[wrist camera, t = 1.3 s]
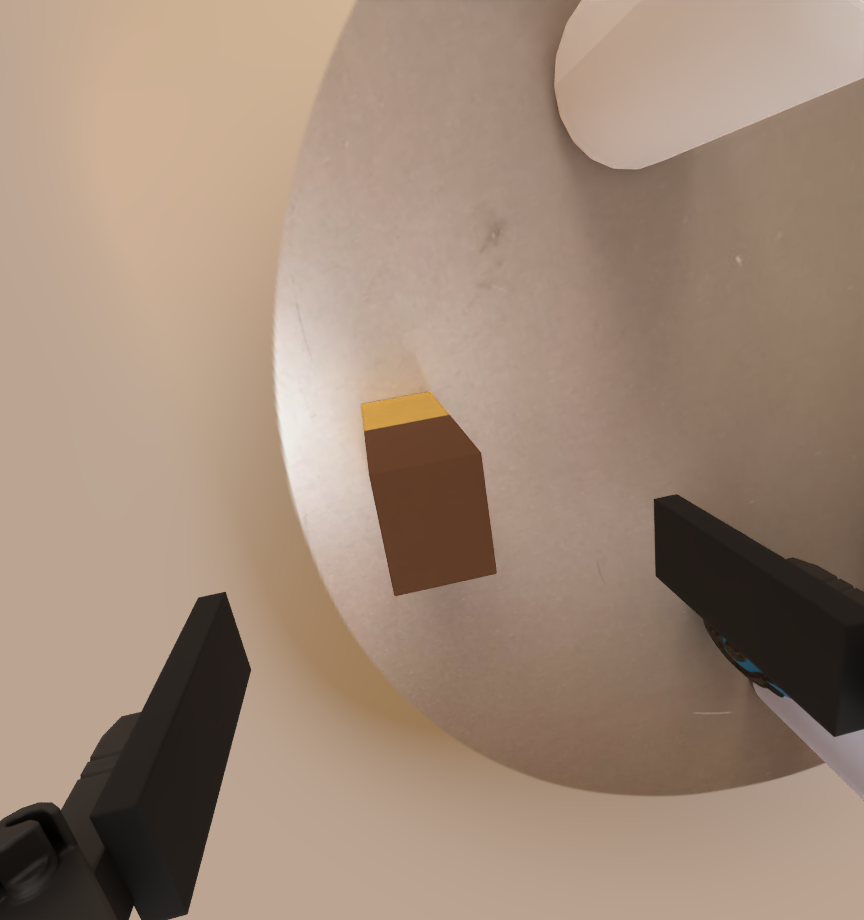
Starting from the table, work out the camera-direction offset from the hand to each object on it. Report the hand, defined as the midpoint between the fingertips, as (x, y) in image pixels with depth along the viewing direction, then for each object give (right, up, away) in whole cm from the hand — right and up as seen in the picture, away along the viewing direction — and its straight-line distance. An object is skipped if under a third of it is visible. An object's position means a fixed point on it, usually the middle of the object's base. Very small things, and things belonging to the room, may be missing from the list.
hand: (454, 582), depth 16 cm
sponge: (-2, +5, +15) cm, 16 cm away
